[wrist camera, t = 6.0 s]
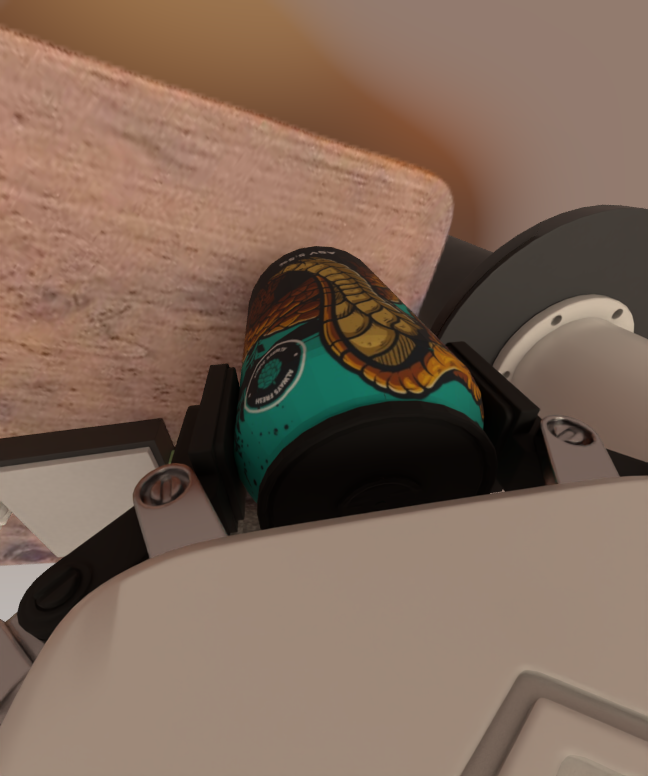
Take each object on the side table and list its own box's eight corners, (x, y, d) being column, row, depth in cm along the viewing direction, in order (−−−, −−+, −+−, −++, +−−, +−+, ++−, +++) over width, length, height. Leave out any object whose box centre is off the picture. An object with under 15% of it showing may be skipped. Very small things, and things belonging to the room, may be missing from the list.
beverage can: (378, 231, 15) (570, 350, 6) (380, 357, 20) (495, 550, 10) (231, 256, 15) (171, 425, 5) (265, 378, 19) (266, 600, 9)
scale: (169, 417, 25) (160, 445, 23) (205, 507, 32) (201, 535, 30) (-9, 439, 24) (-39, 472, 21) (70, 529, 31) (54, 561, 28)
